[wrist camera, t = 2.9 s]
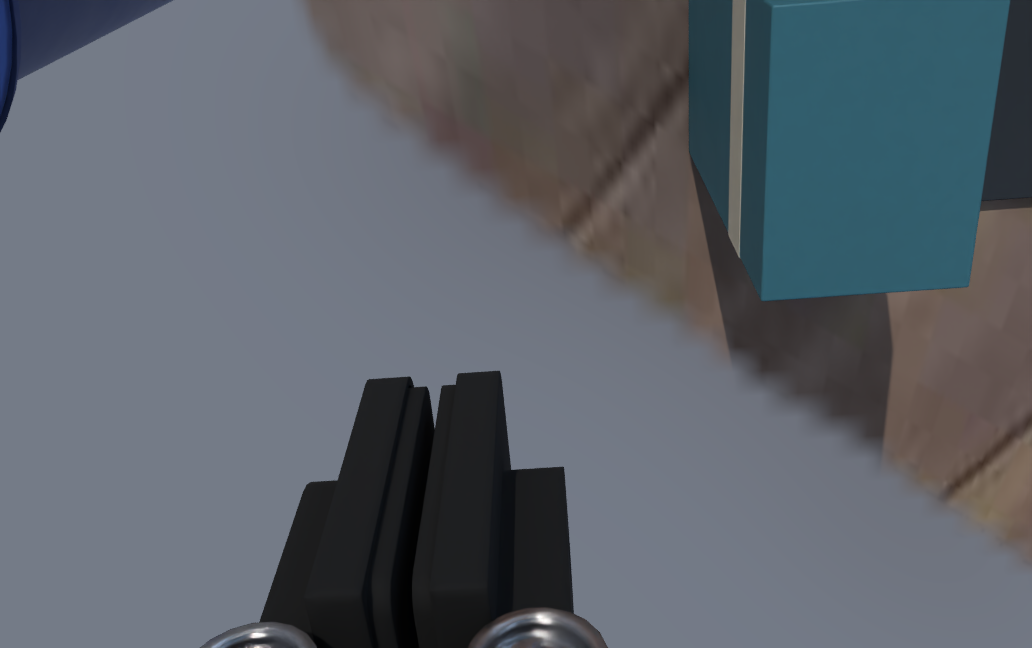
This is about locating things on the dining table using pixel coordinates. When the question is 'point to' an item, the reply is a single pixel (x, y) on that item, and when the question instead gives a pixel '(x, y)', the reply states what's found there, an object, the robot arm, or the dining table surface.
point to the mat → (1012, 112)
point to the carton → (846, 137)
